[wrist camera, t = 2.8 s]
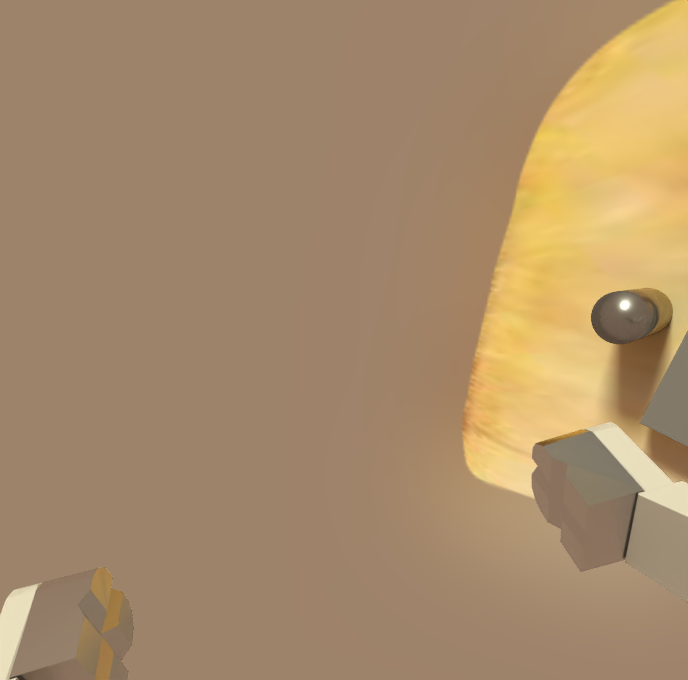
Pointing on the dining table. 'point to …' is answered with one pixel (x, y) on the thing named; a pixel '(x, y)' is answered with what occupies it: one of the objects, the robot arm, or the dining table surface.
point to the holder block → (671, 400)
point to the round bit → (631, 315)
